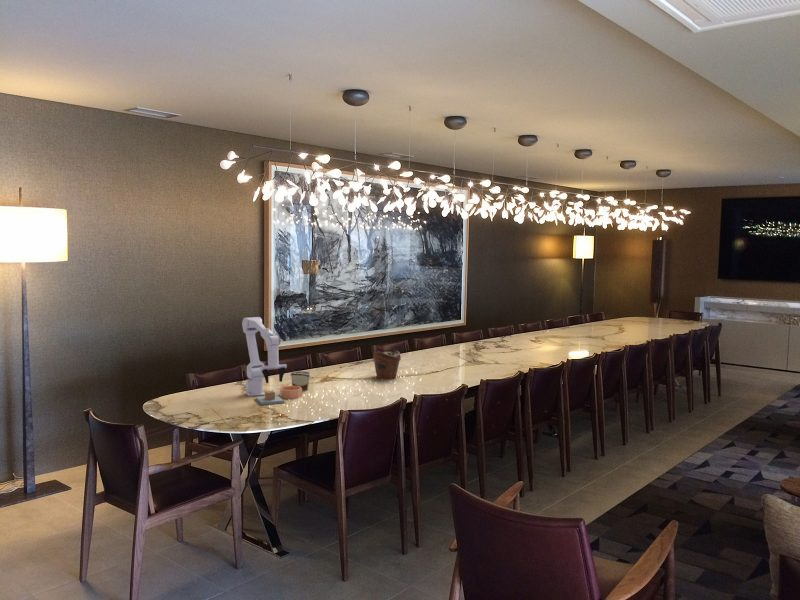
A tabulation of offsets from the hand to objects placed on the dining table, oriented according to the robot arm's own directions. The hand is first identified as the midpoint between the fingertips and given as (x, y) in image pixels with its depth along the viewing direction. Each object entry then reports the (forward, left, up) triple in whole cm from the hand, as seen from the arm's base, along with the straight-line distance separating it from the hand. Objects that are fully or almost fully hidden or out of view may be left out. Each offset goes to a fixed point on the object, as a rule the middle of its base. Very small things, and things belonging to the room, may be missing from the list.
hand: (273, 382), depth 351 cm
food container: (+23, +24, -11) cm, 35 cm away
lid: (-2, +1, -10) cm, 10 cm away
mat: (-2, +1, -11) cm, 11 cm away
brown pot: (+84, +37, -11) cm, 92 cm away
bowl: (+12, +9, -11) cm, 18 cm away
